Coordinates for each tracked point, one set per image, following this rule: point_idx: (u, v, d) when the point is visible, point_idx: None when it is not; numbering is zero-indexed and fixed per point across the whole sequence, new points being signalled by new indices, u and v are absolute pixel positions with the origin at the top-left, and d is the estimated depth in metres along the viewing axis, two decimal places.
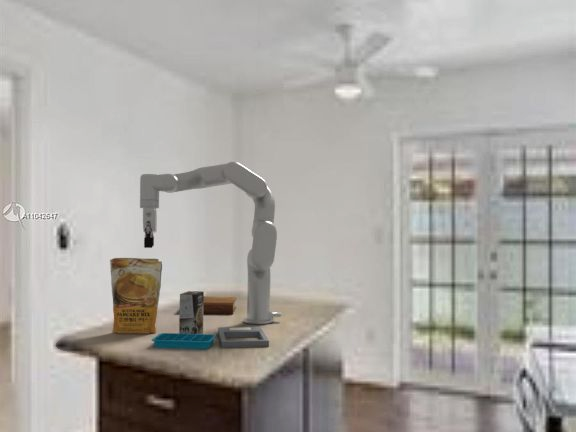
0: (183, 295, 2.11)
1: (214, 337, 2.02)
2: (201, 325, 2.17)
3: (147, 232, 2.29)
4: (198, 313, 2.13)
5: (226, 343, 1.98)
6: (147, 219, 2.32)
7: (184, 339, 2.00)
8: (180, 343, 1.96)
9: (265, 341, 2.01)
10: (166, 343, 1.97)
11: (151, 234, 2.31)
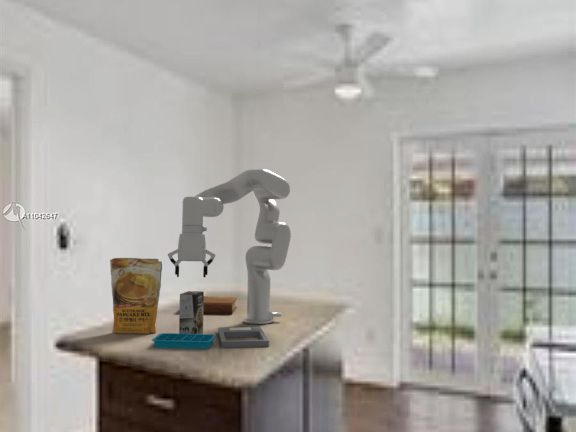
0: (183, 295, 2.11)
1: (214, 337, 2.02)
2: (201, 325, 2.17)
3: (212, 260, 2.16)
4: (198, 313, 2.13)
5: (226, 343, 1.98)
6: (205, 247, 2.15)
7: (184, 339, 2.00)
8: (180, 343, 1.96)
9: (265, 341, 2.01)
10: (166, 343, 1.97)
11: (207, 262, 2.17)
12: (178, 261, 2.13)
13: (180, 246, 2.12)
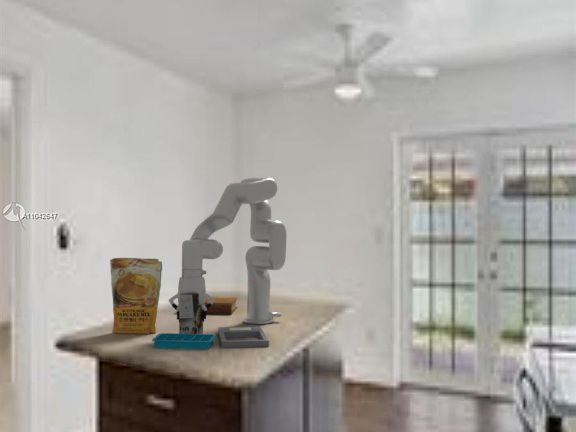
0: (183, 295, 2.11)
1: (214, 337, 2.02)
2: (201, 325, 2.17)
3: (211, 304, 2.16)
4: (198, 313, 2.13)
5: (226, 343, 1.98)
6: (205, 290, 2.16)
7: (184, 339, 2.00)
8: (180, 343, 1.96)
9: (265, 341, 2.01)
10: (166, 343, 1.96)
11: (206, 306, 2.17)
12: None
13: (180, 290, 2.13)
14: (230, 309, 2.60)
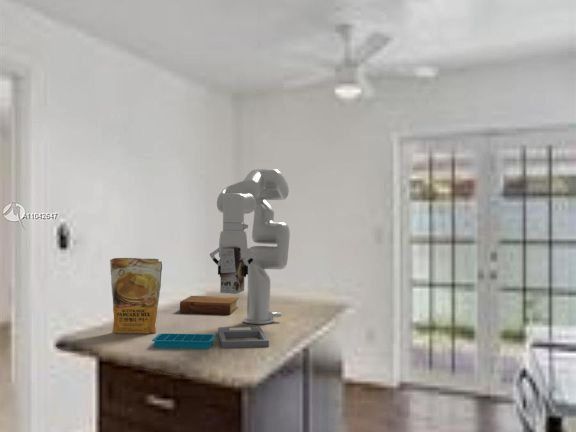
0: (224, 249, 2.05)
1: (214, 337, 2.03)
2: (242, 281, 2.10)
3: (253, 259, 2.10)
4: (240, 268, 2.07)
5: (226, 343, 1.98)
6: None
7: (184, 339, 2.00)
8: (181, 343, 1.96)
9: (265, 341, 2.01)
10: (167, 343, 1.96)
11: None
12: None
13: (221, 244, 2.06)
14: (229, 309, 2.60)
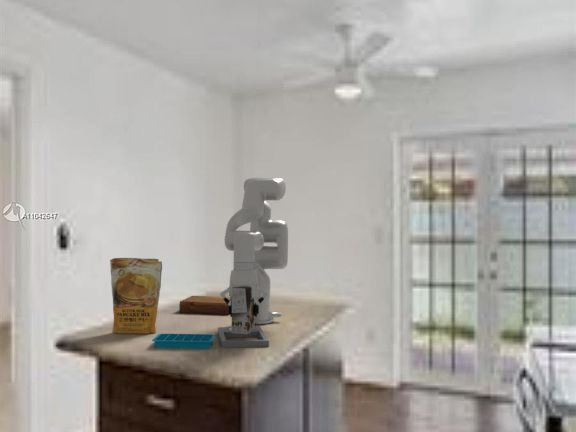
0: (236, 289, 2.04)
1: (214, 337, 2.03)
2: (253, 320, 2.09)
3: (263, 298, 2.09)
4: (251, 307, 2.05)
5: (226, 343, 1.98)
6: None
7: (184, 339, 2.00)
8: (181, 343, 1.96)
9: (265, 341, 2.01)
10: (167, 343, 1.96)
11: None
12: None
13: (232, 284, 2.05)
14: None
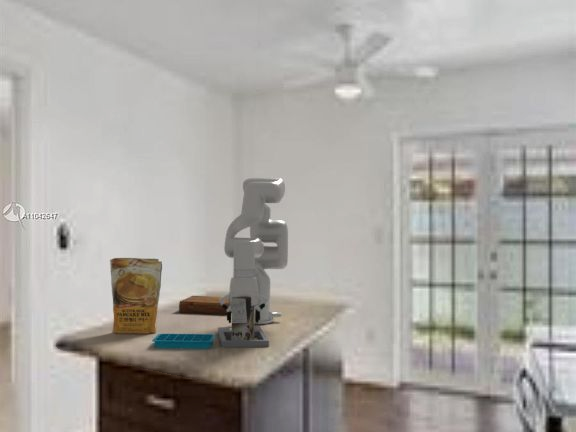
0: (236, 299, 2.04)
1: (214, 336, 2.03)
2: (253, 330, 2.09)
3: (265, 304, 2.09)
4: (251, 318, 2.06)
5: (226, 343, 1.98)
6: (257, 291, 2.08)
7: (184, 339, 2.00)
8: (181, 343, 1.96)
9: (265, 341, 2.01)
10: (167, 343, 1.96)
11: None
12: (230, 307, 2.06)
13: (232, 291, 2.05)
14: None
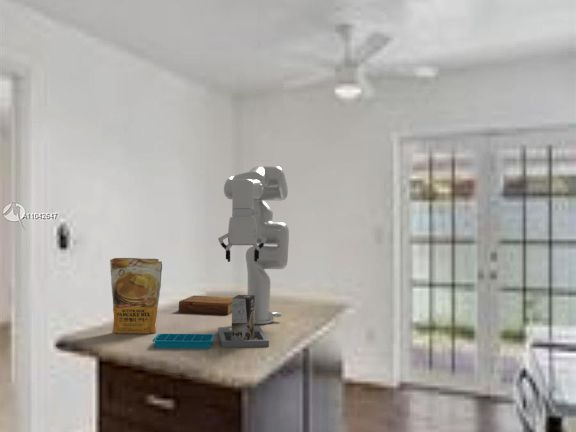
0: (236, 299, 2.04)
1: (214, 336, 2.03)
2: (253, 330, 2.09)
3: None
4: (251, 318, 2.06)
5: (226, 343, 1.98)
6: (256, 230, 2.10)
7: (185, 339, 2.00)
8: (181, 343, 1.96)
9: (265, 341, 2.01)
10: (167, 343, 1.96)
11: None
12: (229, 245, 2.07)
13: (231, 230, 2.06)
14: (226, 309, 2.59)
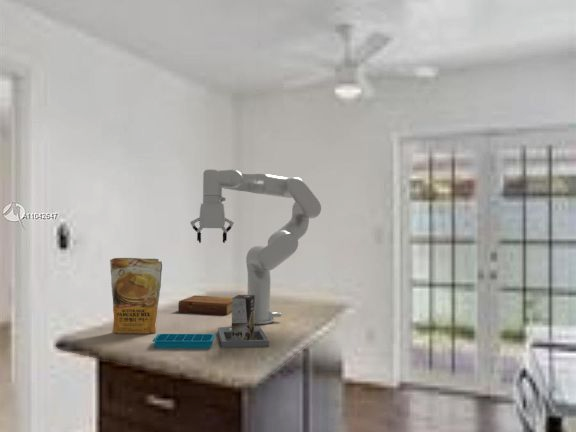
0: (236, 299, 2.04)
1: (214, 336, 2.03)
2: (253, 330, 2.09)
3: None
4: (251, 318, 2.06)
5: (226, 343, 1.98)
6: (224, 215, 2.37)
7: (185, 339, 2.00)
8: (182, 343, 1.96)
9: (265, 341, 2.01)
10: (167, 343, 1.96)
11: None
12: (200, 228, 2.34)
13: (202, 214, 2.33)
14: (225, 310, 2.59)
